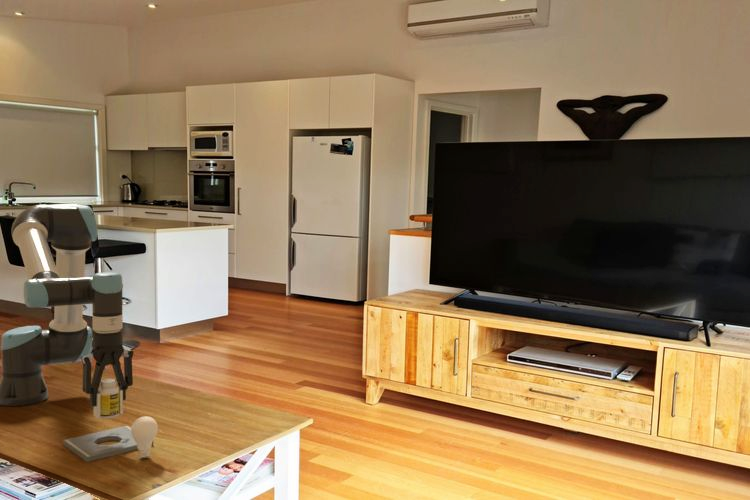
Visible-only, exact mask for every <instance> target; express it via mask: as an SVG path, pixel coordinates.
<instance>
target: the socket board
mask: <svg viewBox="0 0 750 500" xmlns="http://www.w3.org/2000/svg"><path fill="white" fill-rule="evenodd" d="M131 427H132V426H131ZM131 427H130V426H129V425H123V426H120V427H115V428H111V429H105V430H100V431H97V432H96V431H95V432H92V433H87V434H85V435H81V436H80V435H79V436H75V437H71V438H67V439H63V440H62V445H63V446H65V448H67V449H68V450H69V451H71V452H73V453H74V454H75V455H77V456H78V457H79V458H81V459H82V460H84V461H85V462H86V463H89V462H94V461H97V459H98V460H101V459H105V458H109V457H113V456H116V455H120V454H125V453H128V452H131V451H132V452H133V451H135V450H136V451H137V450H138V447H137V443H136V441H135V440H134V438H133V437H132V434H131ZM106 441H119V442H117V443H113V444H108V445H106V444H98V443H101V442H106ZM152 446H154V441H153V442H152Z"/></svg>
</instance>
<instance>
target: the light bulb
mask: <svg viewBox="0 0 750 500" xmlns="http://www.w3.org/2000/svg"><path fill="white" fill-rule="evenodd" d="M158 427H159V426H158V423H157V421H156V420H155V419H154V418H153V417H151V416H146V415H145V416H141V417H138V418H137V419H135V420H134V421H133V423H132V424H131V434H132V437H133V438H134V440H135V441H136V443H137V447H138V449H137V450H138V453H137V454H138V457H139V458H141V459H147V458H149V457H151V456H150V455H151V449H152V446H153V445H152V442H153V443H154V440H155V437H156V436H157V435H158V431H159V428H158Z"/></svg>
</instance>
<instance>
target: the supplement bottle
mask: <svg viewBox="0 0 750 500" xmlns="http://www.w3.org/2000/svg"><path fill="white" fill-rule="evenodd" d="M118 388H119V387H117V380H116V378H103V379H101V381H100V387H99V389H98V393H99V394H100V407H101V418H100V419H104V420H105V419H106V420H107V419H114V418H116V417H118V416H119V415H120V414H119V389H118Z"/></svg>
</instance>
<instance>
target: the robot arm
mask: <svg viewBox="0 0 750 500" xmlns="http://www.w3.org/2000/svg"><path fill="white" fill-rule="evenodd" d="M10 232H11V233H10V234H11V237H12V240H13V243H14V245H16V246H18V248H19V251H20V255H21V258H22V261H23V264H24V268H25V271H26V274H27V275H26V276H27V280H25V281H24V284H23V298H24V299H23V300H24V304H25V306H26V307H27V308H41V309H43V308H53V307H54V315H53V316H54V317H53V318H54V319H52V320H51V321H50V322H49V324H48V329H42V327H41V326H40V325H26V326H19V327H16V328H13V329H9V330H7V331H5V332H4V333H3V334H2V336H1V338H0V339H1V341H0V343H1V344H0V350H1V352H0V354H1V379H0V406H3V407H4V406H5V407H20V406H27V405H28V406H29V405H34V404H38V403H40V402H43V401H45V400H47V399H48V398H49V389H48V386H47V383H46V382H45V378H44V376H43V372H42V371H43V366H49V365H60V364H69V363H72V364H74V363H76V362H81V363H82V392H83V393H84V394H87V395H89V404H90V405H89V406H91V407H93V417H94V418H95V419H97V420H98V419H99V420H101V419H102V418H101V407H100V394H99V393H98V390H99V389H100V386H101V380H102V377H103V373H104V370H105V369H106V367H107V366H109V365H111V366H112V370H113V372H114V376H115V379H116V384H117V386H118V387H117V388H118V389H119V415H122V414H123V413H124V401H126V398H127V395H126V394H127V393H126V392H127V390H128V387H131V386H133V384H134V382H133V381H134V380H133V378H134V377H133V357H134V351H133V350H132V349H129V348H124V346H123V342H124V339H123V336H124V335H123V331H122V329H123V327H124V326H123V324H124V323H123V289H124V284H123V276H122V274H121V273H119V272H112V271H110V272H109V271H107V272H106V271H105V272H96V273H94V274H91V275H88V276H85V272H86V271H85V270H86V268H85V267H86V252H87V251H88V250H90V248H91V245H92V242H95V241H97V239H98V226H97V219H96V216H95V213H94V210H93V209H92V208H91V206H89V205H87V204H86V205H83V204H81V205H80V204H41V203H40V204H35V205H31V206H29V207H27V208H25V209H24V210H23V211H22V212H20V213H19V214H18V215H17V216H16V217H15V218H14V221H13V222H12V226H11V231H10ZM48 242H49V243H50V242H51V247H52V249H54V250H55V252H56V255H55V258H56V259H55V261H54V257H53V254H52V252H51V249H50V246H49V243H48ZM84 305H92V328H91V327H90V326H88V322H87V321H86V320H85V319H84V318H83V315H84V313H83V311H84ZM92 330H93V331H92ZM122 356H123V371H124V372H123V371H122V367H121V364H122V363H121V362H120V358H121V357H122ZM93 359H94V360H95V361H96V362H95V365H94V371H93V372H94V373H93V376H92V362H93Z"/></svg>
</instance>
